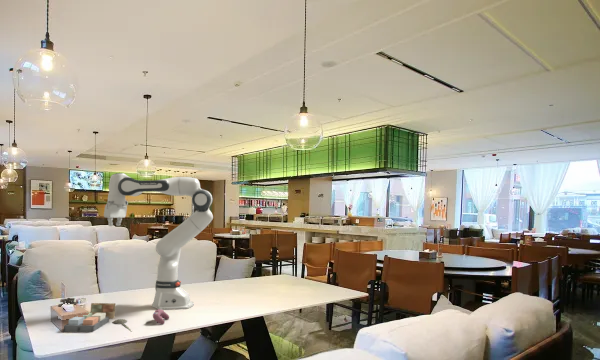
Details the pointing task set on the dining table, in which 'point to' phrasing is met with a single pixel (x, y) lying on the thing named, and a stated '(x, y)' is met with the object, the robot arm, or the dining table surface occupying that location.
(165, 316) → the pink neck pillow
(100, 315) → the key cream
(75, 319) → the key blue
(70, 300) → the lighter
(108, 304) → the stand
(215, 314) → the dining table surface
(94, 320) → the key terracotta
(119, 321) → the soupspoon
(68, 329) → the keypad
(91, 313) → the key sage
